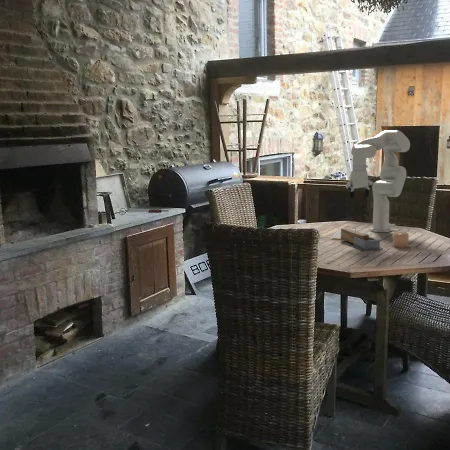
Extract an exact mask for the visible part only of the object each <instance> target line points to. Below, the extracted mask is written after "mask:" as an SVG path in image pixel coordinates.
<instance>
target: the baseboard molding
mask: <svg viewBox="0 0 450 450" xmlns="http://www.w3.org/2000/svg"><path fill="white" fill-rule="evenodd" d="M340 227H341V226H339V227H337V230H336V231H335V232H334V234H333V235H332V236H331V237H330V240H334V241H335V240H337V241H338V240H339V241H344V240H343V239H341V229H343V227H341V228H340ZM344 228H349V229H352V230H355V231H357V230H356V229H357V228H352V227H350V226H346V225H345V226H344Z"/></svg>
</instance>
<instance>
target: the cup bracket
mask: <svg viewBox="0 0 450 450" xmlns="http://www.w3.org/2000/svg"><path fill="white" fill-rule="evenodd" d="M380 240H381V239H378V238H376V237H375V238H374V237H372V236H370V235H369V240H367V241H366V240H363V239H360V238H358V237H354V243H352V244H350V245H349V246H350V247H352V248H355V249H357V250H359V251H361V252H365V251H366V252H368V251H379V250H384V247H381V245H380V244H381V241H380Z"/></svg>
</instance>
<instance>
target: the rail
mask: <svg viewBox="0 0 450 450" xmlns="http://www.w3.org/2000/svg"><path fill="white" fill-rule="evenodd" d="M342 228H343V227H342ZM340 229H341V228H340ZM352 229H353V228H349V227H344V228H343V229H341V239H343V240H342V241H346V242H349V243H352V244H354V237H358V238H360V239H363V240H366V241H367V240H369V236H370V235H369V234H366V233H364V232H361V231H357V230H352Z"/></svg>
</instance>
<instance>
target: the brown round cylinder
mask: <svg viewBox="0 0 450 450" xmlns="http://www.w3.org/2000/svg"><path fill="white" fill-rule="evenodd" d="M409 236H410V235H409V233H408V232H405V231H397V232H393V233H392V246H393V247H394V248H397V249H398V248H401V249H405V248H404V247H406V248H408V247H409Z"/></svg>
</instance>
